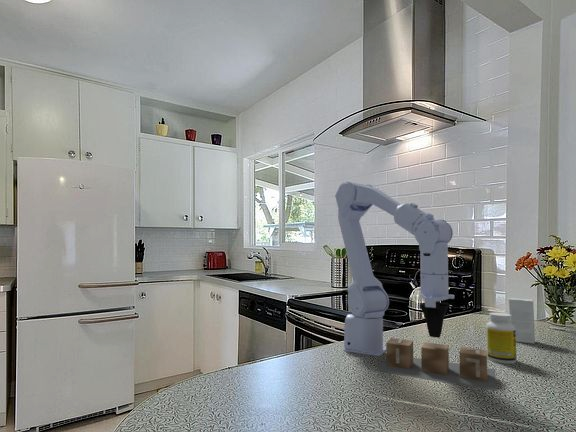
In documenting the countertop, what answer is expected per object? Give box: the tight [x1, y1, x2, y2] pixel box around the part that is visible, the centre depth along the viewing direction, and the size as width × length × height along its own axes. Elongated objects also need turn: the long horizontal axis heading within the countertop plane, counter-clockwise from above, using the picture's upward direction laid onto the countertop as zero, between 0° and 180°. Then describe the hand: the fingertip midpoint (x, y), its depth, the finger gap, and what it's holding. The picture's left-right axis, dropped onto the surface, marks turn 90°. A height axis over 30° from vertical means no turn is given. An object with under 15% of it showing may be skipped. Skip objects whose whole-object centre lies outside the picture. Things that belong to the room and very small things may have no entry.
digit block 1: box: [385, 337, 414, 369], centre depth 86 cm, size 5×5×5 cm
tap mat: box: [373, 356, 497, 392], centre depth 83 cm, size 23×14×1 cm, turn 62°
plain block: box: [420, 341, 450, 375], centre depth 83 cm, size 5×5×5 cm
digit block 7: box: [458, 346, 488, 382], centre depth 80 cm, size 5×5×5 cm
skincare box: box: [508, 297, 536, 345], centre depth 111 cm, size 6×4×12 cm
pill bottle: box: [485, 312, 517, 365], centre depth 91 cm, size 6×6×11 cm
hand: (434, 336), depth 83 cm, fingers closed
